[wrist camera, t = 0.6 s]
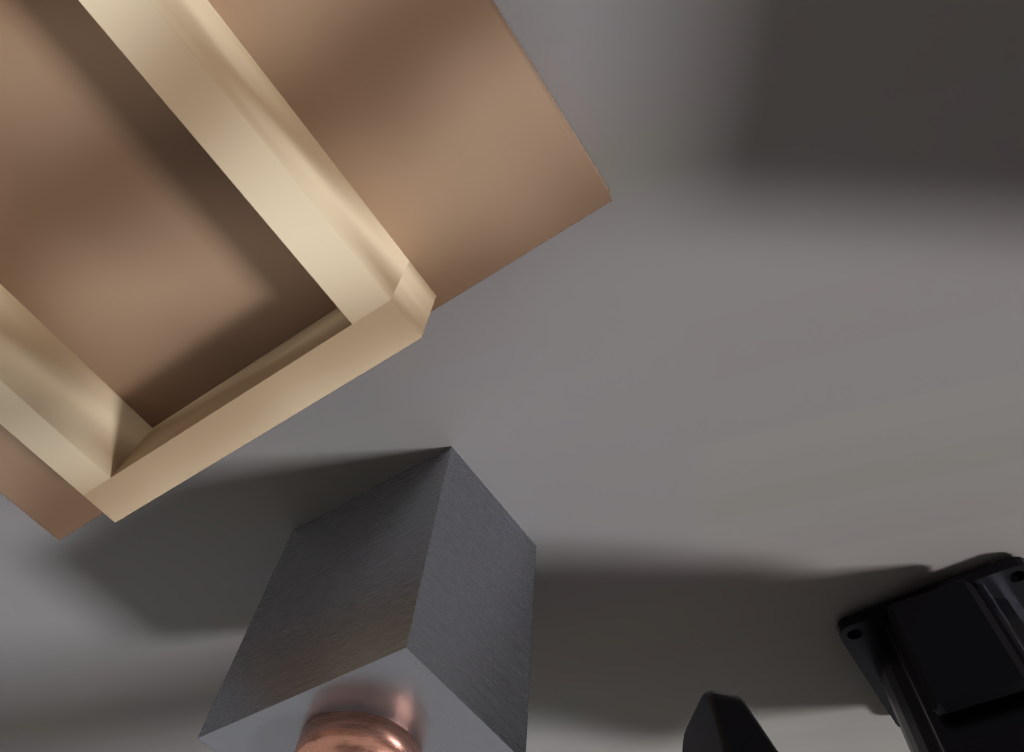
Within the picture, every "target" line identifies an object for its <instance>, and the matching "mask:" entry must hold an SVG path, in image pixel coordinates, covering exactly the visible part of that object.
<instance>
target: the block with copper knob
mask: <svg viewBox="0 0 1024 752" xmlns="http://www.w3.org/2000/svg"><path fill="white" fill-rule="evenodd" d="M535 557H536V545H535V544H534V543H533V542H532V541H531V540H530V538H529V537H528V536H527V535H526V534H525V533H524V531H523V530H522V529H521V528H520V527H519V525H518V524H517V523H516V522H515V521H514V520H513V518H512V517H511V516H510V515H509V514H508V512H507V511H506V510H505V509H504V508H503V507H502V505H501V504H500V503H499V502H498V501H497V499H496V498H495V497H494V496H493V495H492V494H491V492H490V491H489V490H488V489H487V488H486V487H485V485H484V484H483V483H482V482H481V481H480V479H479V478H478V477H477V476H476V475H475V474H474V472H473V471H472V470H471V469H470V468H469V466H468V465H467V464H466V463H465V462H464V461H463V459H462V458H461V457H460V456H459V455H458V454H457V452H456V451H455V450H454V449H453V448H452V446H451V447H449V448H447V449H446V450H444V451H442V452H440V453H438V454H436V455H434V456H432V457H431V458H429V459H427V460H425V461H423V462H421V463H419V464H417V465H416V466H414V467H412V468H410V469H408V470H406V471H404V472H403V473H401V474H399V475H397V476H395V477H393V478H391V479H389V480H388V481H386V482H384V483H382V484H380V485H378V486H376V487H374V488H373V489H371V490H369V491H367V492H365V493H363V494H361V495H360V496H358V497H356V498H354V499H352V500H350V501H348V502H346V503H345V504H343V505H341V506H339V507H337V508H335V509H333V510H331V511H330V512H328V513H326V514H324V515H322V516H320V517H318V518H317V519H315V520H313V521H311V522H309V523H307V524H305V525H303V526H302V527H300V528H298V529H296V530H294V531H293V532H292V534H291V536H290V539H289V541H288V543H287V545H286V547H285V550H284V552H283V554H282V556H281V558H280V560H279V563H278V565H277V567H276V569H275V571H274V573H273V576H272V578H271V580H270V582H269V584H268V586H267V589H266V591H265V593H264V595H263V597H262V600H261V602H260V604H259V606H258V608H257V610H256V613H255V615H254V617H253V619H252V621H251V623H250V626H249V628H248V630H247V632H246V634H245V636H244V639H243V641H242V643H241V645H240V647H239V649H238V652H237V654H236V656H235V658H234V660H233V663H232V665H231V667H230V669H229V671H228V673H227V676H226V678H225V680H224V682H223V684H222V686H221V689H220V691H219V693H218V695H217V697H216V699H215V702H214V704H213V706H212V708H211V710H210V713H209V715H208V717H207V719H206V721H205V723H204V726H203V728H202V730H201V732H200V734H199V736H198V739H199V740H200V741H202V742H203V743H204V744H206V745H207V746H208V747H210V748H211V749H212V750H214V751H215V752H526V739H527V719H528V699H529V678H530V658H531V638H532V618H533V597H534V577H535Z"/></svg>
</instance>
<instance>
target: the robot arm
mask: <svg viewBox="0 0 1024 752" xmlns="http://www.w3.org/2000/svg"><path fill="white" fill-rule="evenodd" d="M1015 571H1016V572H1015ZM1013 572H1014V573H1013ZM836 627H837V630H838V633H839V636H840V638H841V640H842V642H843V643H844V645H845V646H846V648H847V649H848V651H849V652H850V654H851V655H852V657H853V658H854V660H855V662H856V663H857V665H858V666H859V668H860V669H861V671H862V672H863V674H864V675H865V677H866V678H867V680H868V681H869V683H870V685H871V686H872V688H873V689H874V691H875V692H876V694H877V695H878V697H879V698H880V700H881V701H882V703H883V704H884V706H885V707H886V709H887V711H888V712H889V714H890V715H891V717H892V718H893V720H894V721H895V723H896V724H897V725H898V726H899V727H900V728H901V730H902V732H903V735H904V737H905V739H906V742H907V744H908V747H909V749H910V751H911V752H1024V558H1021V557H1009V558H1006V559H1003V560H1000V561H998V562H995V563H992V564H989V565H987V566H984V567H981V568H978V569H976V570H973V571H970V572H967V573H965V574H962V575H959V576H956V577H954V578H951V579H948V580H945V581H943V582H940V583H937V584H934V585H932V586H929V587H926V588H923V589H921V590H918V591H915V592H912V593H910V594H907V595H904V596H901V597H899V598H896V599H893V600H890V601H888V602H885V603H882V604H879V605H877V606H874V607H871V608H868V609H866V610H863V611H860V612H857V613H855V614H852V615H849V616H847V617H844V618H842V619H841V620H840V621H839V622H838V623H837V626H836ZM683 752H778V751H777V750H776V748H775V747H774V745H773V744H772V742H771V741H770V739H769V738H768V736H767V735H766V733H765V732H764V730H763V729H762V727H761V726H760V724H759V723H758V721H757V720H756V718H755V717H754V715H753V714H752V713H751V711H750V710H749V708H748V707H747V705H746V704H745V702H744V701H743V700H742V699H741V698H740V697H738V696H736V695H733V694H728V693H723V692H717V691H707V692H705V693H704V694H703V696H702V697H701V699H700V701H699V703H698V706H697V708H696V710H695V712H694V714H693V716H692V718H691V720H690V722H689V724H688V726H687V728H686V731H685V734H684V739H683Z"/></svg>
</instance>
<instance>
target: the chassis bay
mask: <svg viewBox="0 0 1024 752" xmlns="http://www.w3.org/2000/svg"><path fill="white" fill-rule="evenodd" d="M610 201H611V197H610V191H609V188H608V187H607V185H606V184H605V182H604V180H603V179H602V177H601V175H600V174H599V172H598V170H597V169H596V167H595V166H594V164H593V162H592V161H591V159H590V157H589V156H588V154H587V153H586V151H585V149H584V148H583V146H582V144H581V143H580V141H579V140H578V138H577V136H576V135H575V133H574V131H573V130H572V128H571V126H570V125H569V123H568V122H567V120H566V118H565V117H564V115H563V113H562V112H561V110H560V109H559V107H558V105H557V104H556V102H555V100H554V99H553V97H552V96H551V94H550V92H549V91H548V89H547V87H546V86H545V84H544V83H543V81H542V79H541V78H540V76H539V74H538V73H537V71H536V69H535V68H534V66H533V65H532V63H531V61H530V60H529V58H528V56H527V55H526V53H525V52H524V50H523V48H522V47H521V45H520V43H519V42H518V40H517V39H516V37H515V35H514V34H513V32H512V30H511V29H510V27H509V26H508V24H507V22H506V21H505V19H504V17H503V16H502V14H501V12H500V11H499V9H498V8H497V6H496V4H495V3H494V1H493V0H0V493H2V494H3V495H4V496H5V497H6V498H8V499H9V500H10V501H11V502H13V503H14V504H15V505H16V506H17V507H19V508H20V509H21V510H22V511H24V512H25V513H26V514H27V515H29V516H30V517H31V518H32V519H33V520H35V521H36V522H37V523H38V524H40V525H41V526H42V527H43V528H44V529H46V530H47V531H48V532H49V533H51V534H52V535H53V536H54V537H55V538H57V539H58V540H60V539H62V538H64V537H65V536H67V535H68V534H70V533H72V532H73V531H75V530H77V529H78V528H80V527H82V526H83V525H85V524H86V523H88V522H90V521H91V520H93V519H95V518H96V517H98V516H99V515H101V514H103V513H104V514H106V515H107V516H108V517H109V518H110V519H111V520H112V521H114V522H117V521H119V520H120V519H122V518H124V517H125V516H127V515H129V514H130V513H132V512H134V511H135V510H137V509H139V508H140V507H142V506H144V505H145V504H147V503H149V502H150V501H152V500H154V499H155V498H157V497H159V496H160V495H162V494H164V493H165V492H167V491H168V490H170V489H172V488H173V487H175V486H177V485H178V484H180V483H182V482H183V481H185V480H187V479H188V478H190V477H192V476H193V475H195V474H197V473H198V472H200V471H202V470H203V469H205V468H207V467H208V466H210V465H212V464H213V463H215V462H217V461H218V460H220V459H222V458H223V457H225V456H226V455H228V454H230V453H231V452H233V451H235V450H236V449H238V448H240V447H241V446H243V445H245V444H246V443H248V442H250V441H251V440H253V439H255V438H256V437H258V436H260V435H261V434H263V433H265V432H266V431H268V430H270V429H271V428H273V427H275V426H276V425H278V424H280V423H281V422H283V421H284V420H286V419H288V418H289V417H291V416H293V415H294V414H296V413H298V412H299V411H301V410H303V409H304V408H306V407H308V406H309V405H311V404H313V403H314V402H316V401H318V400H319V399H321V398H323V397H324V396H326V395H328V394H329V393H331V392H333V391H334V390H336V389H338V388H339V387H341V386H342V385H344V384H346V383H347V382H349V381H351V380H352V379H354V378H356V377H357V376H359V375H361V374H362V373H364V372H366V371H367V370H369V369H371V368H372V367H374V366H376V365H377V364H379V363H381V362H382V361H384V360H386V359H387V358H389V357H391V356H392V355H394V354H396V353H397V352H399V351H400V350H402V349H404V348H405V347H407V346H409V345H410V344H412V343H414V342H415V341H417V340H419V339H420V338H421V337H422V334H423V332H424V329H425V326H426V323H427V320H428V318H429V315H430V312H431V311H433V310H435V309H436V308H438V307H439V306H441V305H443V304H444V303H446V302H448V301H449V300H451V299H452V298H454V297H456V296H457V295H459V294H461V293H462V292H464V291H465V290H467V289H469V288H470V287H472V286H474V285H475V284H477V283H478V282H480V281H482V280H483V279H485V278H487V277H488V276H490V275H491V274H493V273H495V272H496V271H498V270H500V269H501V268H503V267H504V266H506V265H508V264H509V263H511V262H513V261H514V260H516V259H518V258H519V257H521V256H522V255H524V254H526V253H527V252H529V251H531V250H532V249H534V248H535V247H537V246H539V245H540V244H542V243H544V242H545V241H547V240H548V239H550V238H552V237H553V236H555V235H557V234H558V233H560V232H561V231H563V230H565V229H566V228H568V227H570V226H571V225H573V224H574V223H576V222H578V221H579V220H581V219H583V218H584V217H586V216H587V215H589V214H591V213H592V212H594V211H596V210H597V209H599V208H600V207H602V206H604V205H605V204H607V203H609V202H610Z"/></svg>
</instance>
